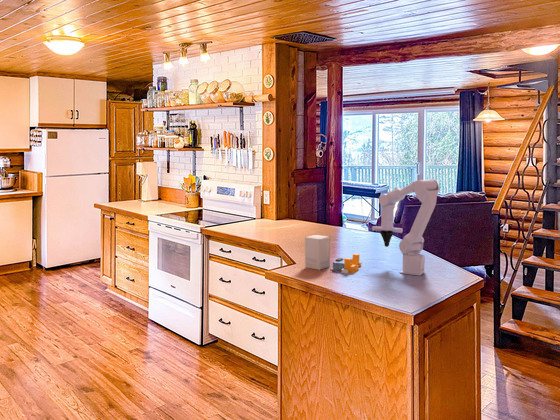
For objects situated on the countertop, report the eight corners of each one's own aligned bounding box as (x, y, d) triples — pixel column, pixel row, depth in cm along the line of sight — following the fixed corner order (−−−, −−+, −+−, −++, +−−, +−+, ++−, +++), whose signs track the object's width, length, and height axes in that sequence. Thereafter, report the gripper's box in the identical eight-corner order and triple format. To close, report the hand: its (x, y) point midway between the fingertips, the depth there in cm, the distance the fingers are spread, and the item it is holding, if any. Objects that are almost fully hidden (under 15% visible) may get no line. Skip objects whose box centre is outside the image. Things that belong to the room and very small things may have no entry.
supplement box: (330, 266, 235) (330, 236, 233) (319, 270, 229) (319, 239, 227) (315, 263, 241) (315, 234, 239) (304, 267, 235) (304, 236, 233)
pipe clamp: (353, 273, 223) (353, 259, 222) (344, 272, 225) (344, 258, 225) (362, 267, 233) (362, 254, 233) (354, 266, 236) (354, 253, 235)
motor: (361, 266, 236) (361, 257, 235) (347, 274, 221) (347, 264, 221) (342, 263, 241) (342, 255, 240) (327, 271, 226) (327, 262, 226)
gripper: (404, 218, 234) (404, 246, 236) (375, 216, 241) (375, 243, 243) (400, 220, 228) (399, 248, 230) (370, 218, 235) (370, 245, 237)
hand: (386, 246), depth 236 cm, fingers closed
